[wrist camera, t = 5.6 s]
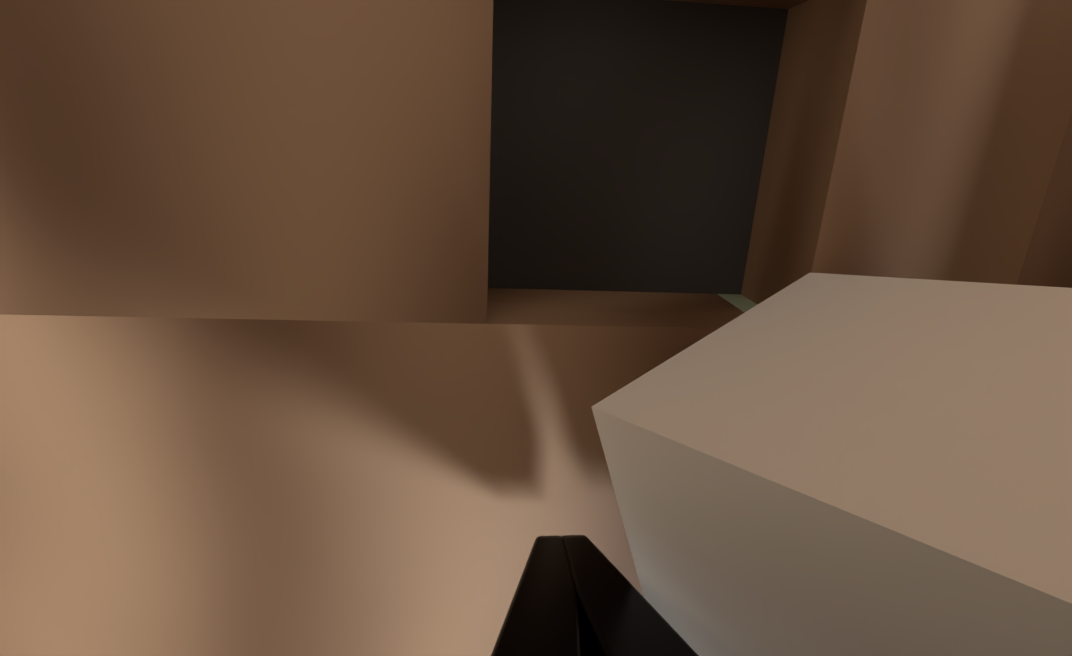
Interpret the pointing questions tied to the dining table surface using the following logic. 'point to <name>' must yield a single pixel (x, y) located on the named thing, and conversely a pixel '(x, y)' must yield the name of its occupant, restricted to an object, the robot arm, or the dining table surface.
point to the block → (858, 473)
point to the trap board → (438, 276)
